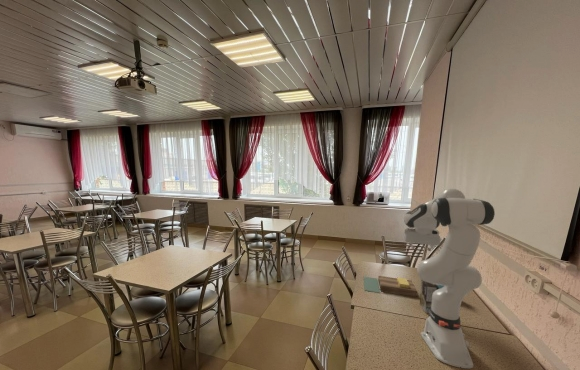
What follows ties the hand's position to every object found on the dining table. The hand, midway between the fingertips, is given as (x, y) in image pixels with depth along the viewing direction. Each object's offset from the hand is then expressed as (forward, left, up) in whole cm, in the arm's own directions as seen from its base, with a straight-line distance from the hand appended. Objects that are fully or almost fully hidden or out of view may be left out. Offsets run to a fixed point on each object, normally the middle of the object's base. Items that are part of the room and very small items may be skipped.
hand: (420, 249), depth 142 cm
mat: (+5, +29, -31) cm, 42 cm away
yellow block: (+5, +8, -27) cm, 29 cm away
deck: (+5, +12, -31) cm, 34 cm away
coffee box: (-14, -2, -31) cm, 34 cm away
